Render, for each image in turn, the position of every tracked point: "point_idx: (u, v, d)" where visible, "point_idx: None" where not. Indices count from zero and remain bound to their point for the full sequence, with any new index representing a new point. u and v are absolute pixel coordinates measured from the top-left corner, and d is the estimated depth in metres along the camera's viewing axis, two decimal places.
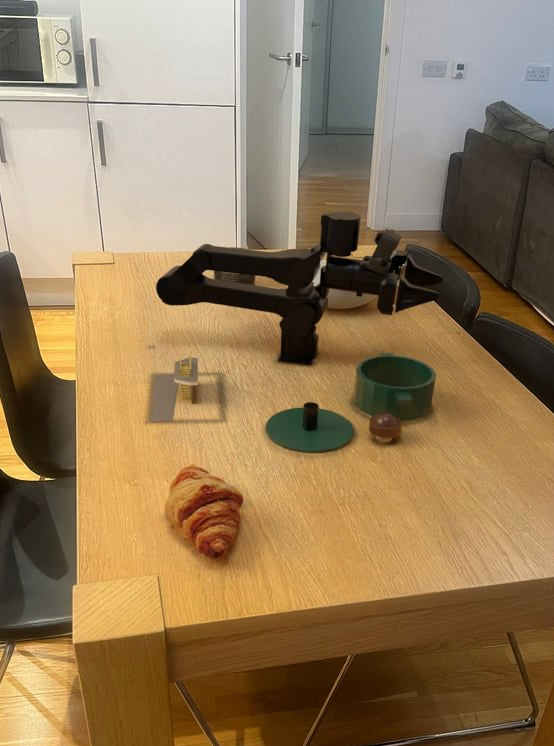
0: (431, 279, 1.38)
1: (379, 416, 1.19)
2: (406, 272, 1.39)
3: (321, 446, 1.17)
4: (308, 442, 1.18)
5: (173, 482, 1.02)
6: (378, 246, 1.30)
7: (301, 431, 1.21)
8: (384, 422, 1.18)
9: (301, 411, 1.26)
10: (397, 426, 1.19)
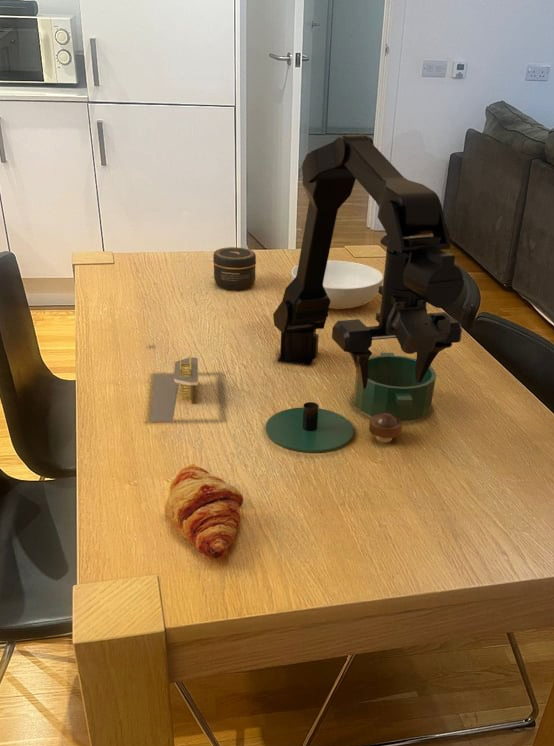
0: (418, 369, 1.17)
1: (379, 416, 1.19)
2: None
3: (321, 446, 1.17)
4: (308, 442, 1.18)
5: (173, 482, 1.02)
6: (403, 328, 1.04)
7: (301, 431, 1.21)
8: (384, 422, 1.18)
9: (301, 411, 1.26)
10: (397, 426, 1.19)
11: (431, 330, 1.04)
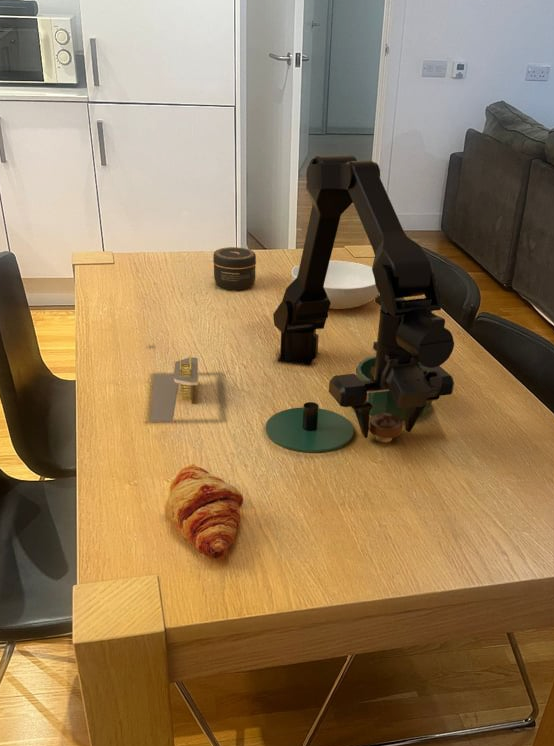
0: (407, 419, 1.21)
1: (379, 416, 1.19)
2: None
3: (321, 446, 1.17)
4: (308, 442, 1.18)
5: (173, 482, 1.02)
6: (397, 384, 1.09)
7: (301, 431, 1.21)
8: (384, 422, 1.18)
9: (301, 411, 1.26)
10: (397, 426, 1.19)
11: (423, 386, 1.09)
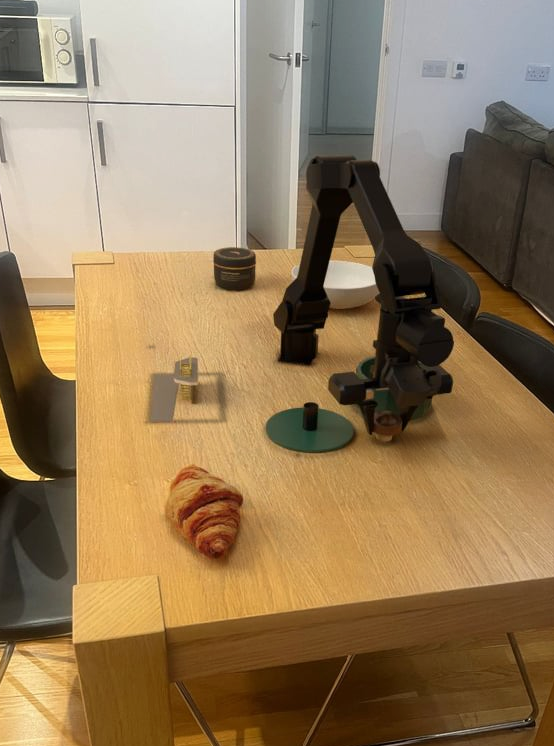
0: None
1: (379, 414, 1.19)
2: None
3: (321, 446, 1.17)
4: (308, 442, 1.18)
5: (173, 482, 1.02)
6: (396, 383, 1.09)
7: (301, 431, 1.21)
8: (384, 420, 1.18)
9: (301, 411, 1.26)
10: (398, 423, 1.19)
11: (423, 385, 1.09)
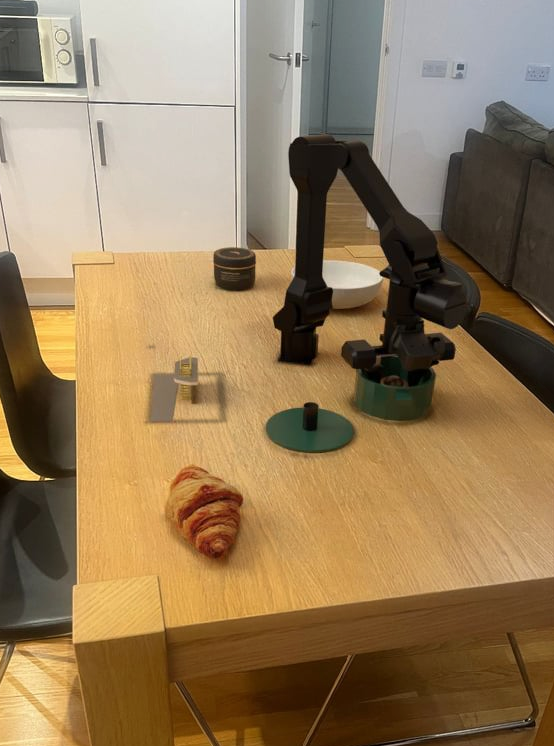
0: (409, 383, 1.31)
1: (387, 378, 1.30)
2: None
3: (321, 446, 1.17)
4: (308, 442, 1.18)
5: (173, 482, 1.02)
6: (404, 348, 1.19)
7: (301, 431, 1.21)
8: (392, 383, 1.29)
9: (301, 411, 1.26)
10: None
11: (428, 350, 1.19)
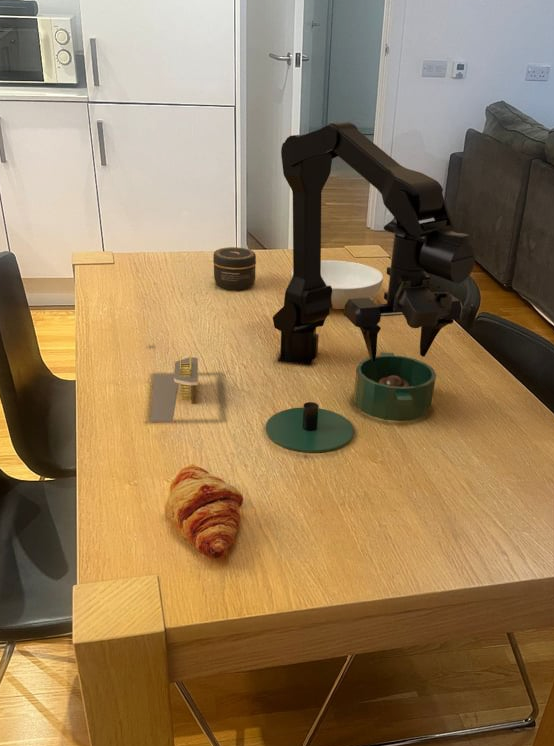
0: (422, 344, 1.27)
1: (387, 378, 1.30)
2: None
3: (321, 446, 1.17)
4: (308, 442, 1.18)
5: (173, 482, 1.02)
6: (409, 304, 1.15)
7: (301, 431, 1.21)
8: (392, 383, 1.29)
9: (301, 411, 1.26)
10: None
11: (434, 306, 1.15)
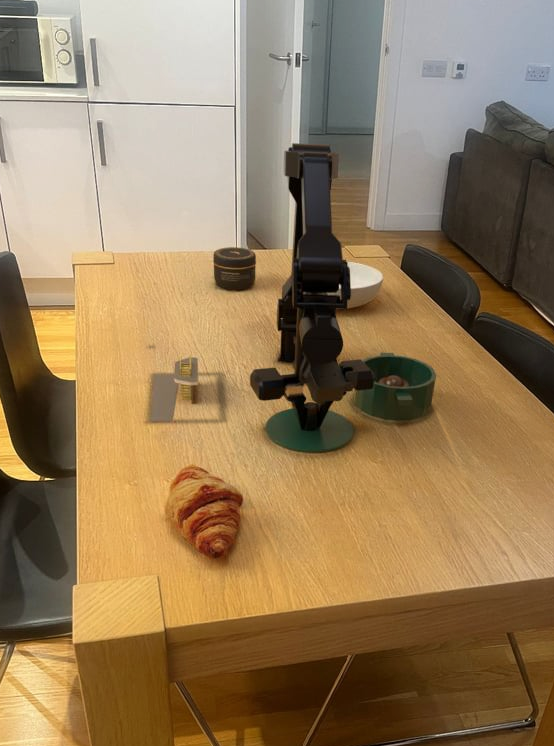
0: None
1: (387, 378, 1.30)
2: None
3: (321, 446, 1.17)
4: (308, 442, 1.18)
5: (173, 482, 1.02)
6: (312, 379, 1.10)
7: (301, 431, 1.21)
8: (392, 383, 1.29)
9: None
10: None
11: (339, 381, 1.10)
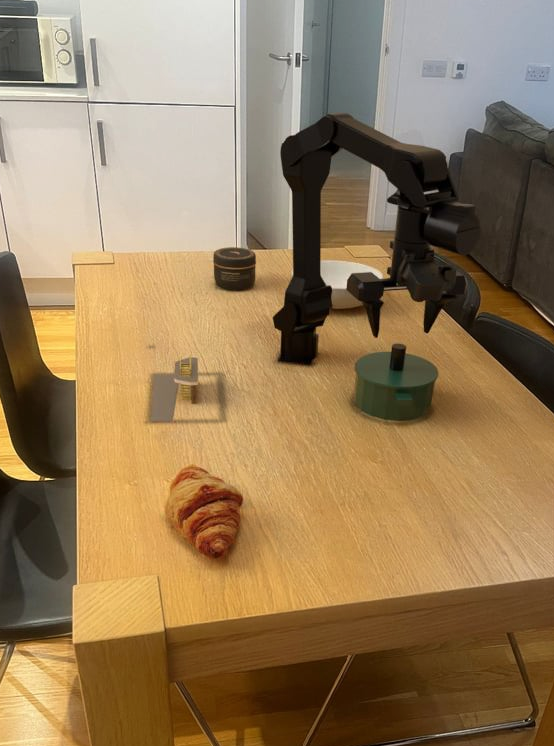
0: (426, 320, 1.25)
1: None
2: None
3: (410, 383, 1.24)
4: (398, 380, 1.24)
5: (173, 482, 1.02)
6: (413, 277, 1.13)
7: (389, 371, 1.27)
8: None
9: (385, 354, 1.33)
10: None
11: (439, 280, 1.13)
